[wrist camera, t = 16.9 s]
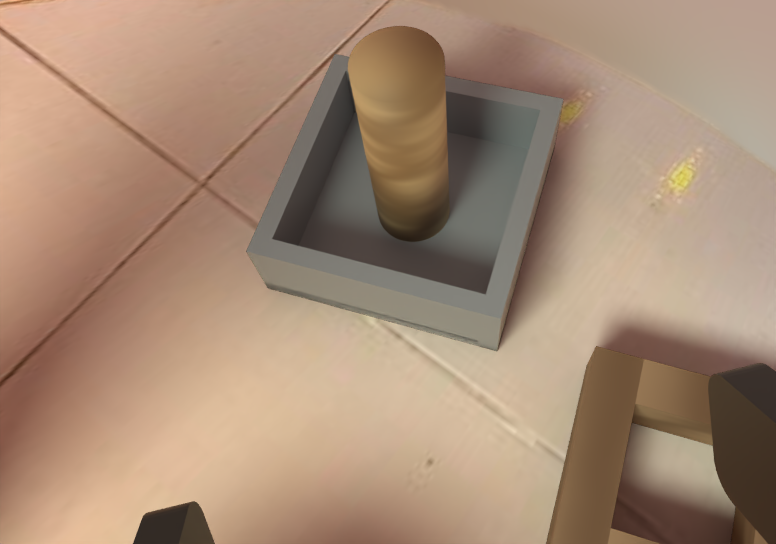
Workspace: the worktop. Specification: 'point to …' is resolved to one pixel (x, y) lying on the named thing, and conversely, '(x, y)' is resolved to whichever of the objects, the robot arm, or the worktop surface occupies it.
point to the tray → (401, 258)
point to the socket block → (625, 441)
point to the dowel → (404, 128)
